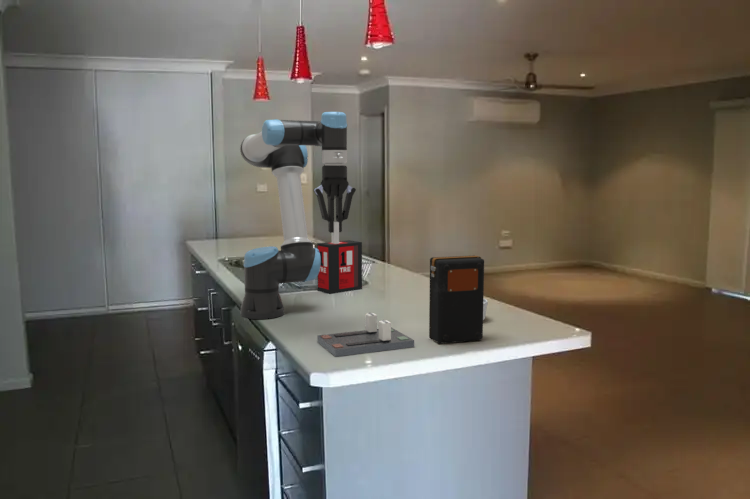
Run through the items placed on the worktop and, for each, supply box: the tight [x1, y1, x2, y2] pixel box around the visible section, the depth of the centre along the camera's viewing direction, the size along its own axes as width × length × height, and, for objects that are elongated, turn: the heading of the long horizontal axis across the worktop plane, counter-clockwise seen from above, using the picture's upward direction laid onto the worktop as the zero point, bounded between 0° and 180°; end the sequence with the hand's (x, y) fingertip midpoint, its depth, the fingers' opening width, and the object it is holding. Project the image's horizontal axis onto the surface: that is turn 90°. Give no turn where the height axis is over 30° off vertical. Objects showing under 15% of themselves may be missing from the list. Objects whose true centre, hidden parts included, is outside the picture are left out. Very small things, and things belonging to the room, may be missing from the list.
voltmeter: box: [428, 254, 485, 344], centre depth 188 cm, size 16×9×25 cm, turn 107°
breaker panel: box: [316, 326, 415, 358], centre depth 185 cm, size 16×24×2 cm, turn 113°
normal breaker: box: [364, 312, 378, 332], centre depth 190 cm, size 3×2×5 cm
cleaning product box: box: [316, 239, 363, 295], centre depth 265 cm, size 16×9×20 cm, turn 129°
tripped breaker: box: [378, 319, 392, 341], centre depth 181 cm, size 3×2×5 cm
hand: (335, 243), depth 192 cm, fingers closed
